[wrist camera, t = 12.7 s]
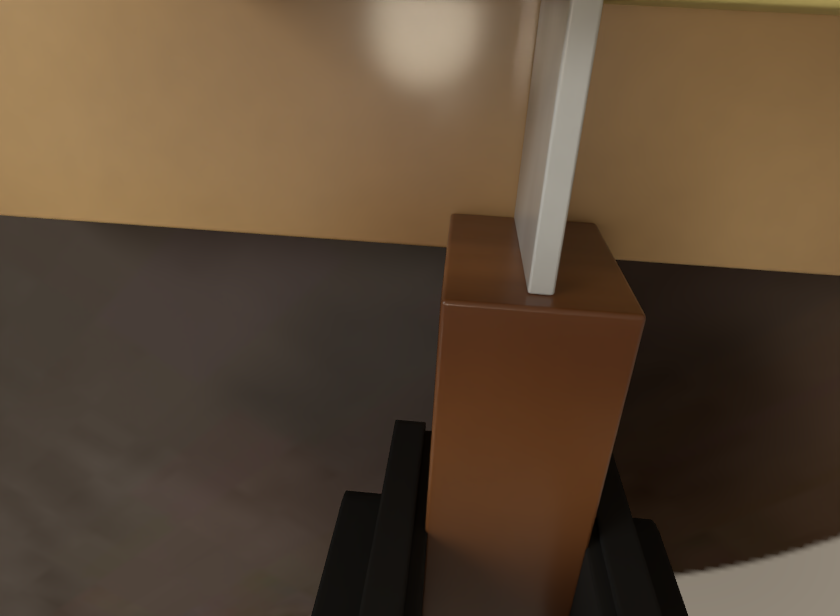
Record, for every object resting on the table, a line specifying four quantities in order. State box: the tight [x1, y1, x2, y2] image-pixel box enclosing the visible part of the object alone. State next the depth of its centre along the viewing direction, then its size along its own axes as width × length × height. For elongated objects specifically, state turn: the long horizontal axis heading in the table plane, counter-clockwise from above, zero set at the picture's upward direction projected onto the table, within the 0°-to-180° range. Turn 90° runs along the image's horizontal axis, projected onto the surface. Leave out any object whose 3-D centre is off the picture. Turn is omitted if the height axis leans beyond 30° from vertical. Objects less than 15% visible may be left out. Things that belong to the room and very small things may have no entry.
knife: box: [422, 0, 646, 616], centre depth 7 cm, size 21×2×3 cm, turn 177°
